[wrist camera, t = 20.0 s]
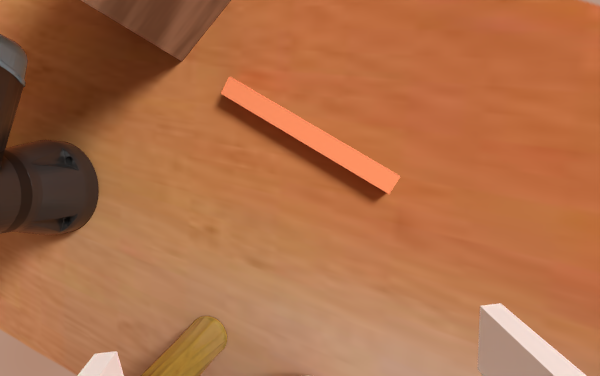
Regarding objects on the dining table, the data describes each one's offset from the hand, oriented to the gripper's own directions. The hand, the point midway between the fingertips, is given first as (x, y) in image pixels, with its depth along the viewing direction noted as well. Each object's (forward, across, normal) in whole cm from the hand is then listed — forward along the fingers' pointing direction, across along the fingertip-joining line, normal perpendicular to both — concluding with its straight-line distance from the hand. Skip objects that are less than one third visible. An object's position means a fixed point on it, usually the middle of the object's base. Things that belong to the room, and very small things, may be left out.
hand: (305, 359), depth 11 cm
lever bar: (+32, +4, +6) cm, 33 cm away
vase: (+31, -15, -22) cm, 41 cm away
